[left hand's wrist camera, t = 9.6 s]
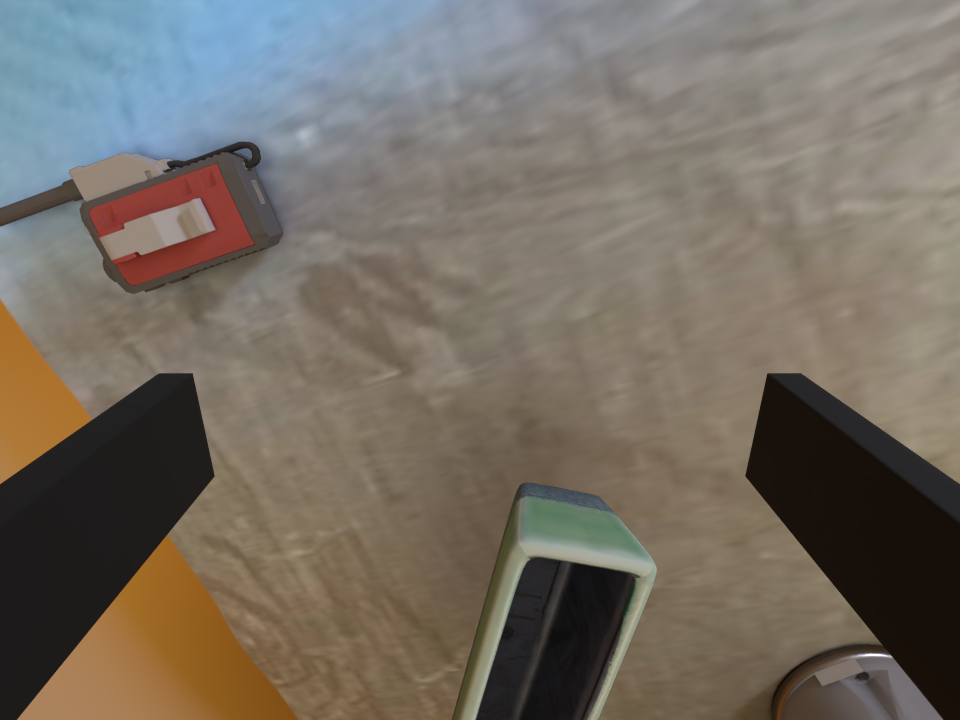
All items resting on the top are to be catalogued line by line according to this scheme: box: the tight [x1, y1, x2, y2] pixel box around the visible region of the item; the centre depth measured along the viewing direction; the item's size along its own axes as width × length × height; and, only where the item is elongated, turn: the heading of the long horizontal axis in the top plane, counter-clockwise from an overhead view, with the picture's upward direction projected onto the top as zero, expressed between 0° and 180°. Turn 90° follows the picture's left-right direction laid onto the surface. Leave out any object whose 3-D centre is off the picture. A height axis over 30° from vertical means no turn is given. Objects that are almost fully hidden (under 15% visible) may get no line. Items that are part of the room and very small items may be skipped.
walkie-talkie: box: [0, 142, 283, 294], centre depth 36 cm, size 9×4×20 cm
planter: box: [452, 483, 657, 720], centre depth 33 cm, size 28×7×7 cm, turn 168°
